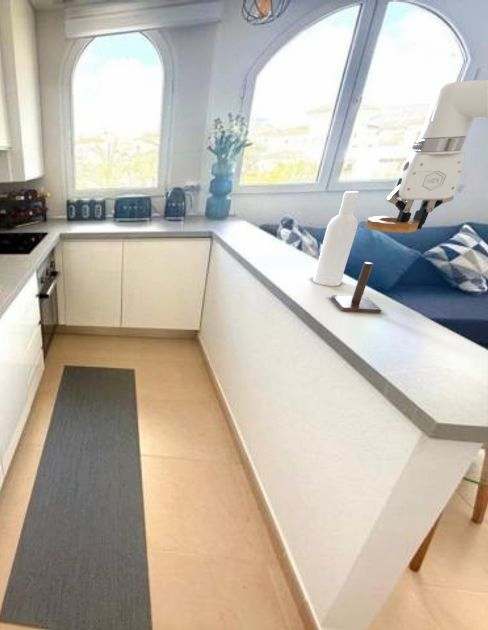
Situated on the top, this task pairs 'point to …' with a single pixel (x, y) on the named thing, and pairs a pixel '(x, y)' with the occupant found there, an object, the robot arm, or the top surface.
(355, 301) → the wooden peg stand
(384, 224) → the ring
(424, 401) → the top surface
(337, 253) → the bottle
